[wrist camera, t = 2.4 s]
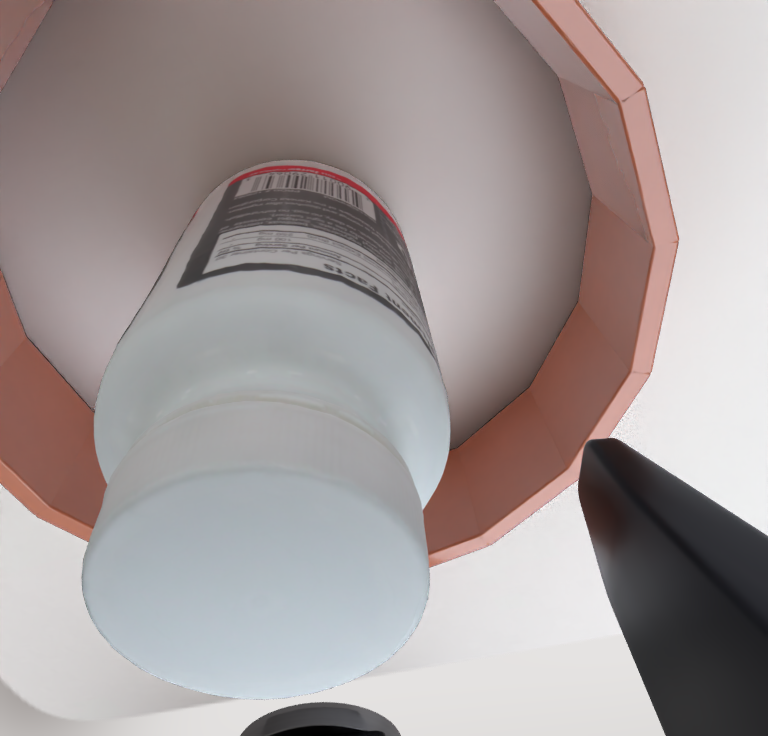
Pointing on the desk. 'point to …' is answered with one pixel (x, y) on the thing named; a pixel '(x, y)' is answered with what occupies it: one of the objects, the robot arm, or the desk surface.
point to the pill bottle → (270, 445)
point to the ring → (523, 415)
